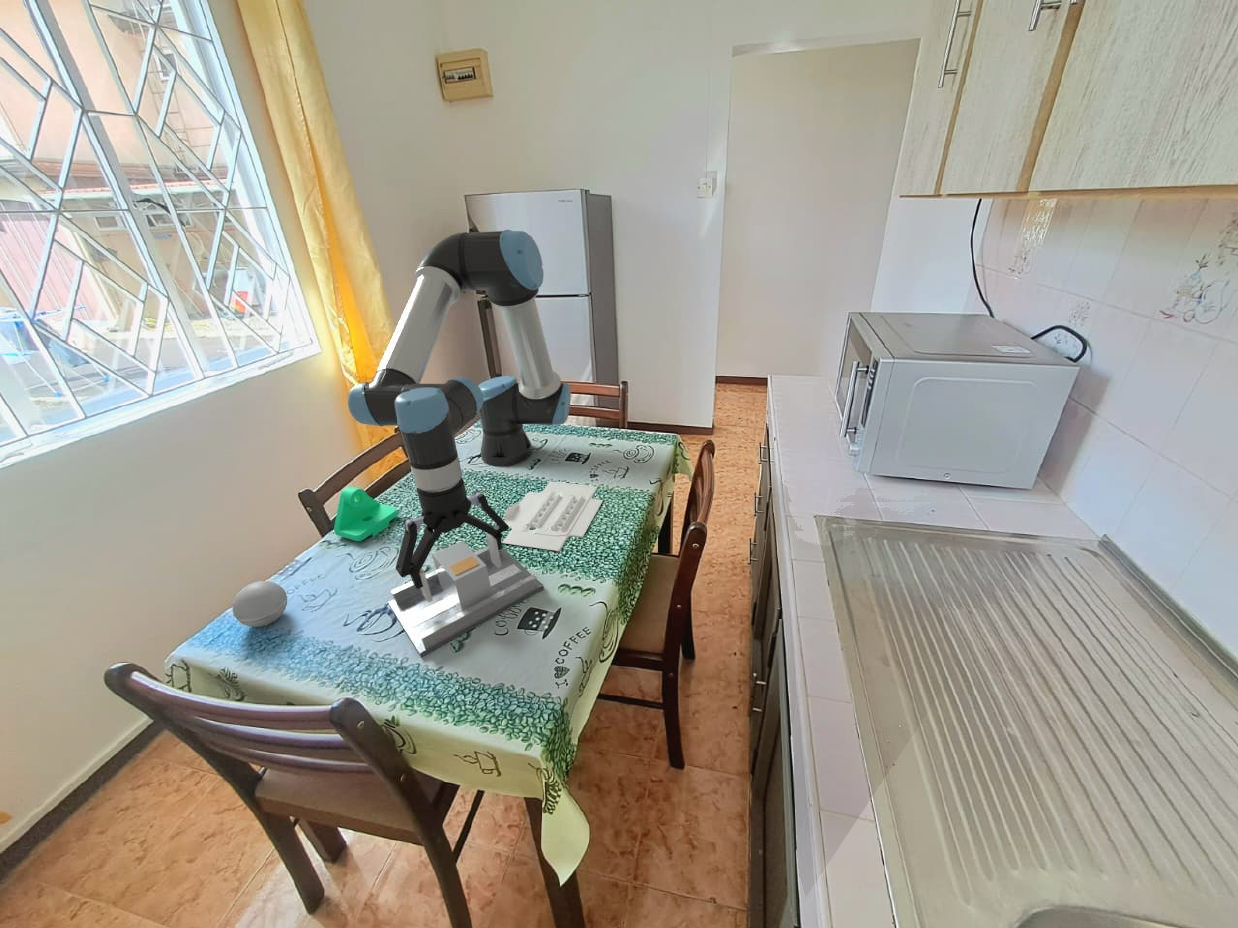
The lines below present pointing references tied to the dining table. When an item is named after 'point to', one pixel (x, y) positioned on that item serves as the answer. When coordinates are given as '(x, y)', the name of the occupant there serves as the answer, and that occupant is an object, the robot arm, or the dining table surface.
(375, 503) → the camera mount
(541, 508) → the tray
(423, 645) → the rail
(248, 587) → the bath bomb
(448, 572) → the module
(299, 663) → the dining table surface
